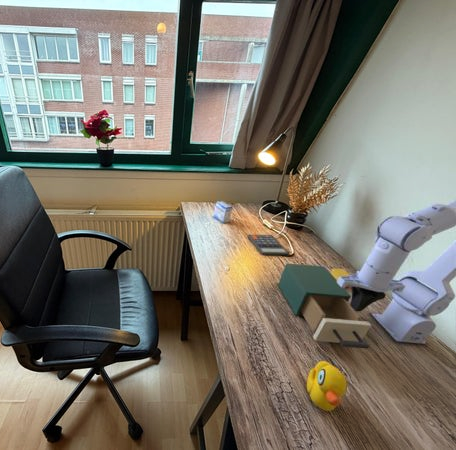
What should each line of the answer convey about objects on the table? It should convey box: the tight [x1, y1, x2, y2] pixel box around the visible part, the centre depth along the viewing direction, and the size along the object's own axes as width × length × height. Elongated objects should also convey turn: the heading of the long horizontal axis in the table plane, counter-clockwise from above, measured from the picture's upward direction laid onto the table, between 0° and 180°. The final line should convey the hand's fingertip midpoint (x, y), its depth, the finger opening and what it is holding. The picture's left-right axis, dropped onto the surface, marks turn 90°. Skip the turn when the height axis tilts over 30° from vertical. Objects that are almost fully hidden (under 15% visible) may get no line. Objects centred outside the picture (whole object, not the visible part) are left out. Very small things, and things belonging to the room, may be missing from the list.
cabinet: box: [278, 263, 352, 317], centre depth 77 cm, size 14×13×9 cm
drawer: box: [301, 295, 372, 349], centre depth 66 cm, size 17×11×7 cm
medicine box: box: [213, 200, 233, 224], centre depth 127 cm, size 8×4×9 cm, turn 25°
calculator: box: [247, 234, 290, 256], centre depth 108 cm, size 12×1×15 cm
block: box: [330, 267, 350, 288], centre depth 88 cm, size 5×4×4 cm
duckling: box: [306, 360, 348, 412], centre depth 50 cm, size 11×5×10 cm, turn 151°
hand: (355, 308), depth 63 cm, fingers closed
